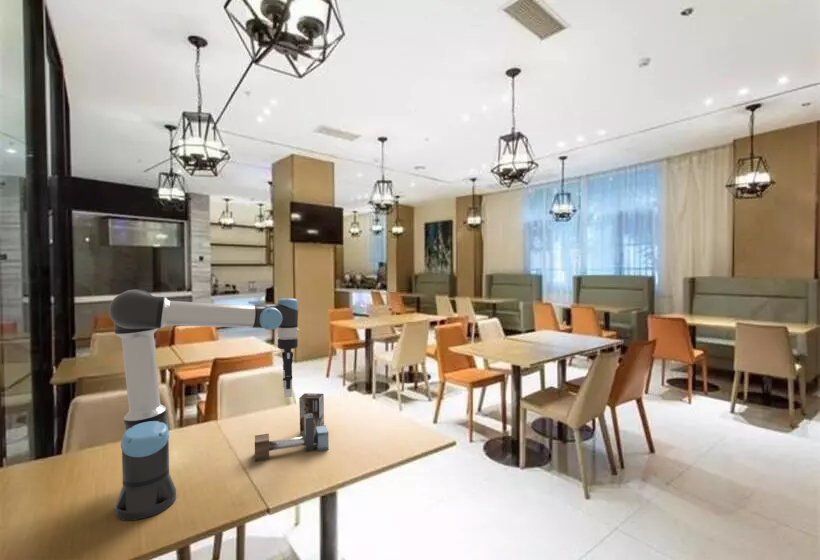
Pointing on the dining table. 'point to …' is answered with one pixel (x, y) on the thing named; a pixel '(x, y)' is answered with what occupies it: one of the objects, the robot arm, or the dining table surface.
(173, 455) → the dining table surface
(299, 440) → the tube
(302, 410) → the coffee box
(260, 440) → the sleeve
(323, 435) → the socket
